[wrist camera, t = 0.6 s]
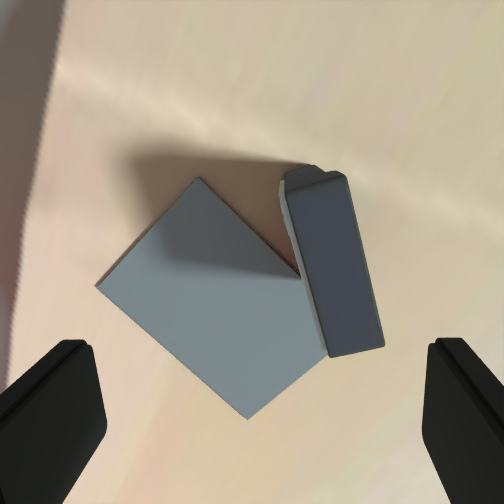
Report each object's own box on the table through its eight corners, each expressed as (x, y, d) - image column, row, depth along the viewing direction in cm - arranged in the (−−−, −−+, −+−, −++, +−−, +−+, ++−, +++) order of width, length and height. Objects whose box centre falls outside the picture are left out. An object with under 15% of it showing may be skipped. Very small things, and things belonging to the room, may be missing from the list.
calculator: (276, 175, 36) (270, 195, 21) (321, 161, 35) (346, 174, 21) (305, 281, 38) (318, 364, 24) (348, 271, 38) (387, 349, 23)
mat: (198, 177, 36) (197, 177, 36) (355, 329, 39) (356, 331, 39) (99, 286, 40) (96, 288, 40) (247, 417, 43) (247, 420, 43)
